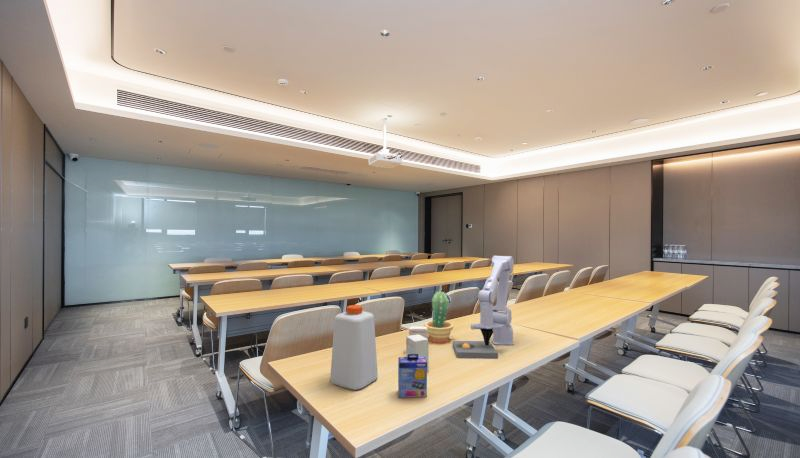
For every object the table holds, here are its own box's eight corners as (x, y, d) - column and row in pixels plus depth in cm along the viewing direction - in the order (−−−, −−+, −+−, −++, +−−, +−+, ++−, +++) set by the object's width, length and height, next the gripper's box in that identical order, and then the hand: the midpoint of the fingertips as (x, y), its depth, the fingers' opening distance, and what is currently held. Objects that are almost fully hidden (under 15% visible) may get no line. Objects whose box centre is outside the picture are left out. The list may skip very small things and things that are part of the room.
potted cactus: (456, 344, 167) (456, 294, 167) (425, 344, 167) (425, 294, 167) (451, 335, 182) (451, 289, 183) (423, 335, 183) (423, 289, 183)
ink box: (427, 351, 158) (427, 326, 158) (427, 355, 153) (427, 329, 153) (409, 350, 159) (409, 325, 159) (409, 354, 154) (409, 328, 154)
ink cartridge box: (398, 398, 113) (398, 355, 113) (397, 390, 119) (397, 349, 119) (427, 397, 114) (427, 354, 114) (425, 389, 119) (425, 349, 120)
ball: (459, 350, 159) (467, 347, 160) (464, 355, 155) (472, 352, 157) (460, 342, 157) (467, 340, 159) (464, 347, 154) (472, 345, 155)
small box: (428, 371, 135) (428, 339, 135) (415, 374, 132) (415, 341, 132) (419, 364, 142) (419, 333, 142) (405, 367, 139) (405, 335, 140)
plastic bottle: (357, 393, 117) (357, 313, 117) (325, 383, 125) (325, 307, 125) (382, 377, 129) (382, 305, 130) (351, 369, 137) (352, 300, 138)
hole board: (489, 346, 165) (489, 341, 165) (497, 358, 149) (497, 352, 149) (452, 345, 165) (452, 340, 166) (457, 357, 150) (457, 352, 150)
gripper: (472, 317, 153) (472, 347, 153) (504, 318, 153) (504, 347, 153) (469, 313, 160) (470, 342, 160) (500, 314, 160) (500, 342, 160)
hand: (486, 344), depth 157 cm, fingers closed
